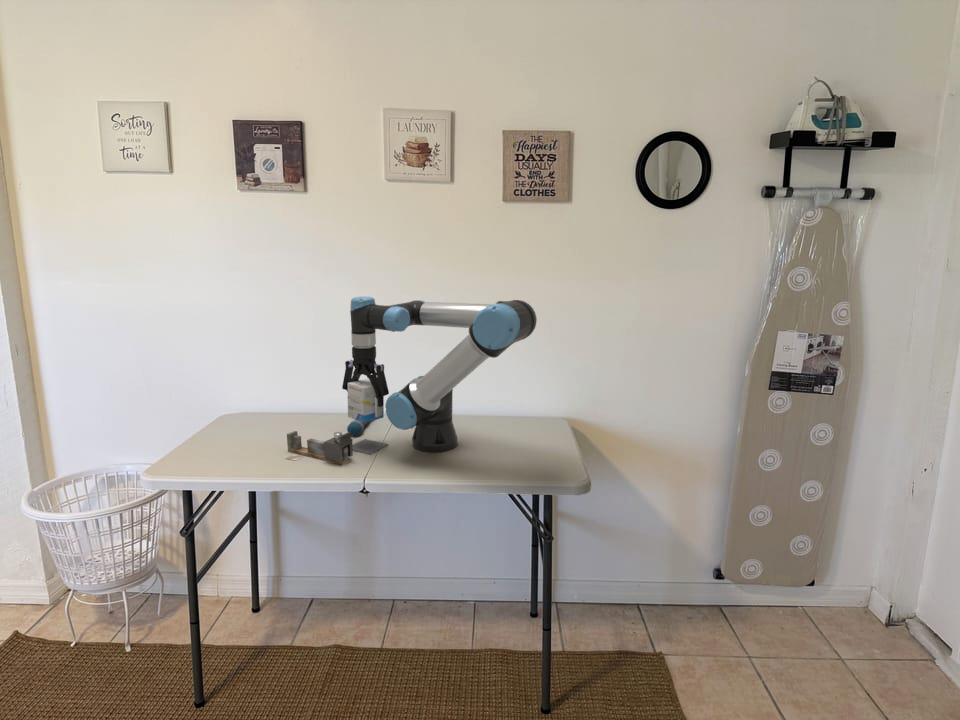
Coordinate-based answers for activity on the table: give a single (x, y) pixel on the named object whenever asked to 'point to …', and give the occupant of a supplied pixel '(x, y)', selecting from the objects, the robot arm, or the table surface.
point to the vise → (310, 449)
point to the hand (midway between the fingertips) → (365, 413)
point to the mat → (368, 446)
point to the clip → (338, 446)
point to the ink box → (362, 401)
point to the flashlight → (356, 427)
